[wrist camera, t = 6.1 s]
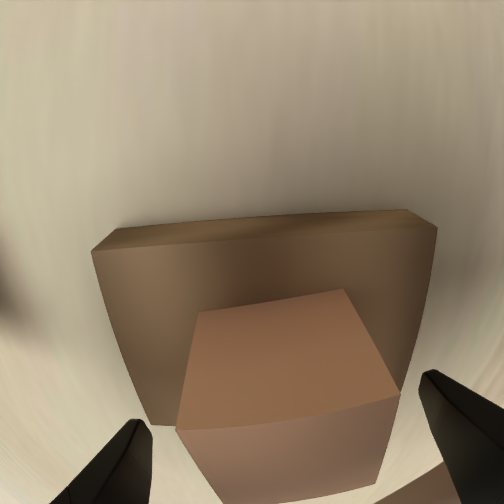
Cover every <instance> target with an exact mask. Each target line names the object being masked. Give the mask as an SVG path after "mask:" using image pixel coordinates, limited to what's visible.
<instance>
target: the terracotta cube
mask: <svg viewBox="0 0 504 504" xmlns="http://www.w3.org/2000/svg"><path fill="white" fill-rule="evenodd" d="M400 395H401V394H400V392H399V390H398V388H397V386H396V384H395V382H394V380H393V378H392V376H391V374H390V372H389V370H388V368H387V367H386V365H385V363H384V361H383V359H382V357H381V355H380V353H379V352H378V350H377V348H376V346H375V344H374V342H373V340H372V339H371V337H370V335H369V333H368V331H367V330H366V328H365V326H364V324H363V322H362V321H361V319H360V317H359V315H358V313H357V312H356V310H355V308H354V306H353V305H352V303H351V301H350V299H349V298H348V296H347V294H346V292H345V291H344V289H338V290H332V291H327V292H322V293H316V294H311V295H305V296H300V297H294V298H288V299H282V300H276V301H270V302H264V303H258V304H252V305H245V306H239V307H232V308H225V309H218V310H211V311H204V312H198V316H197V321H196V326H195V330H194V335H193V340H192V345H191V350H190V355H189V360H188V365H187V370H186V375H185V380H184V385H183V391H182V396H181V401H180V407H179V412H178V418H177V423H176V429H175V431H176V432H177V434H178V436H179V438H180V439H181V441H182V442H183V444H184V446H185V447H186V449H187V451H188V452H189V454H190V455H191V457H192V459H193V460H194V462H195V463H196V465H197V466H198V468H199V469H200V471H201V472H202V474H203V475H204V477H205V478H206V480H207V481H208V483H209V484H210V486H211V487H212V488H213V490H214V491H215V493H216V494H217V496H218V497H219V498H220V500H221V501H222V502H223V504H278V503H286V502H293V501H300V500H306V499H312V498H317V497H322V496H328V495H332V494H337V493H341V492H346V491H350V490H354V489H358V488H362V487H365V486H369V485H373V484H375V482H376V480H377V477H378V474H379V471H380V468H381V465H382V462H383V459H384V455H385V452H386V449H387V445H388V442H389V438H390V435H391V431H392V428H393V424H394V420H395V416H396V412H397V408H398V404H399V399H400Z"/></svg>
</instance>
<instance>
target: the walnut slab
mask: <svg viewBox="0 0 504 504" xmlns="http://www.w3.org/2000/svg"><path fill="white" fill-rule="evenodd" d="M437 228H438V227H436V226H434V225H433V224H431V223H429V222H428V221H426V220H424V219H423V218H421V217H419V216H417V215H416V214H414V213H412V212H410V211H409V210H377V211H352V212H330V213H311V214H293V215H277V216H261V217H247V218H233V219H220V220H207V221H195V222H183V223H172V224H161V225H150V226H140V227H130V228H120V229H115V230H114V231H113V232H112V233H110V234H109V235H108V236H107V237H106V238H105V239H104V240H103V241H101V242H100V243H99V244H98V245H97V246H96V247H95V248H94V249H93V250H92V251H91V254H92V259H93V263H94V267H95V270H96V274H97V278H98V282H99V285H100V289H101V292H102V296H103V299H104V303H105V306H106V309H107V312H108V316H109V319H110V322H111V325H112V328H113V331H114V334H115V337H116V340H117V343H118V346H119V348H120V351H121V354H122V357H123V359H124V362H125V365H126V367H127V370H128V372H129V375H130V377H131V380H132V382H133V385H134V387H135V390H136V392H137V395H138V397H139V399H140V402H141V404H142V406H143V408H144V411H145V413H146V415H147V417H148V419H149V422H150V424H151V425H162V426H176V423H177V418H178V412H179V407H180V401H181V396H182V391H183V385H184V380H185V375H186V370H187V365H188V360H189V355H190V350H191V345H192V340H193V335H194V330H195V326H196V321H197V316H198V312H204V311H211V310H218V309H225V308H232V307H239V306H245V305H252V304H258V303H264V302H270V301H276V300H282V299H288V298H294V297H300V296H305V295H311V294H316V293H322V292H327V291H332V290H338V289H344V291H345V292H346V294H347V296H348V298H349V299H350V301H351V303H352V305H353V306H354V308H355V310H356V312H357V313H358V315H359V317H360V319H361V321H362V322H363V324H364V326H365V328H366V330H367V331H368V333H369V335H370V337H371V339H372V340H373V342H374V344H375V346H376V348H377V350H378V352H379V353H380V355H381V357H382V359H383V361H384V363H385V365H386V367H387V368H388V370H389V372H390V374H391V376H392V378H393V380H394V382H395V384H396V386H397V388H398V390H399V392H401V389H402V386H403V383H404V380H405V377H406V374H407V370H408V367H409V364H410V360H411V357H412V354H413V350H414V346H415V343H416V339H417V335H418V331H419V327H420V323H421V319H422V315H423V310H424V306H425V301H426V296H427V291H428V286H429V281H430V275H431V270H432V264H433V257H434V251H435V244H436V236H437Z"/></svg>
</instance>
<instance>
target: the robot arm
mask: <svg viewBox="0 0 504 504" xmlns="http://www.w3.org/2000/svg"><path fill="white" fill-rule="evenodd" d="M419 396H420V399H421V402H422V405H423V408H424V411H425V414H426V417H427V420H428V423H429V427H430V430H431V432H432V435H433V437H434V439H435V442H436V444H437V446H438V448H439V450H440V453H441V455H442V457H443V460H444V462H445V464H446V466H447V469H448V471H449V474H450V476H451V478H452V481H453V483H454V486H455V488H456V490H457V493H458V496H459V498H460V501H461V503H462V504H504V409H503V408H501V407H500V406H498V405H496V404H494V403H493V402H491V401H489V400H487V399H486V398H484V397H482V396H481V395H479V394H477V393H475V392H474V391H472V390H470V389H468V388H467V387H465V386H463V385H462V384H460V383H458V382H456V381H455V380H453V379H451V378H450V377H448V376H446V375H444V374H443V373H441V372H439V371H438V370H436V369H431V370H428V371H426V372H424V373H423V374H422V377H421V381H420V385H419ZM152 445H153V438H152V434H151V432H150V430H149V429H148V427H147V426H146V424H145V423H144V421H143V420H141V419H130V420H128V421H127V423H126V424H125V425H124V426H123V427H122V428H121V429H120V430H119V431H118V432H117V433H116V434H115V436H114V437H113V438H112V439H111V440H110V441H109V442H108V443H107V444H106V445H105V446H104V447H103V449H102V450H101V451H100V452H99V453H98V454H97V455H96V456H95V457H94V458H93V459H92V460H91V461H90V462H89V464H88V465H87V466H86V467H85V468H84V469H83V470H82V471H81V472H80V473H79V474H78V475H77V476H76V477H75V478H74V479H73V480H72V482H71V483H70V484H69V485H68V486H67V487H66V488H65V489H64V490H63V491H62V492H61V493H60V494H59V495H58V496H57V497H56V498H55V499H54V500H53V501H52V502H51V503H49V504H149V496H150V488H151V480H152Z"/></svg>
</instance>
